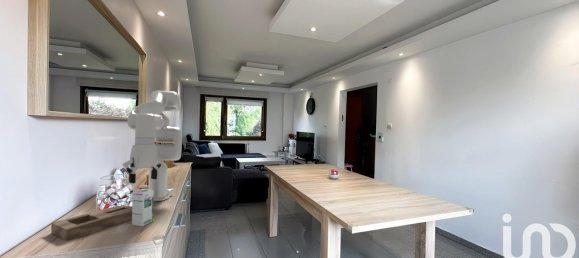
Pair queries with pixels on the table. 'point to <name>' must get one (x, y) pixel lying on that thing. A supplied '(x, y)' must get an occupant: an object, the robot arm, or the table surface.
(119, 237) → the table surface
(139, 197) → the syrup box
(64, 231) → the socket block
